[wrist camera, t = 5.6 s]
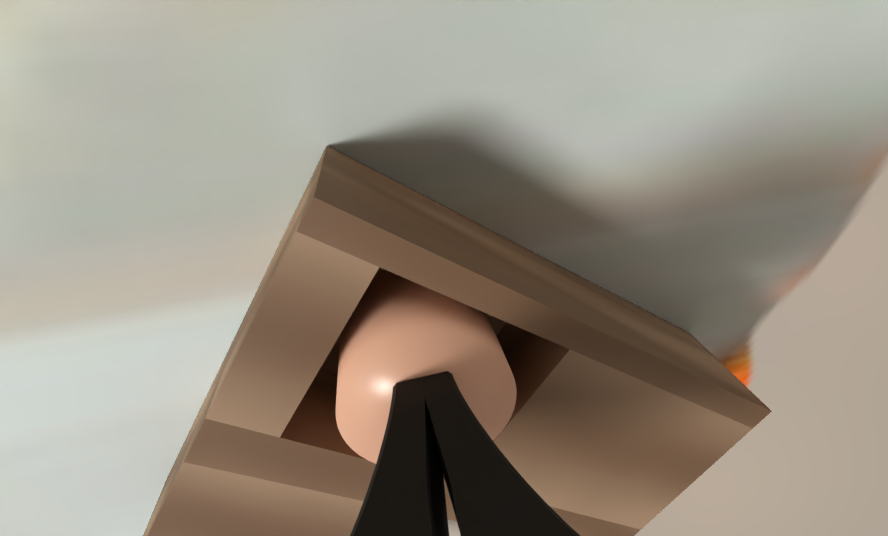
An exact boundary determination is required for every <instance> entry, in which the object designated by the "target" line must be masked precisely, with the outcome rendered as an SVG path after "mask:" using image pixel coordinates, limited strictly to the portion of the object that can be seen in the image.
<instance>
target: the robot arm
mask: <svg viewBox="0 0 888 536" xmlns="http://www.w3.org/2000/svg"><path fill="white" fill-rule="evenodd" d="M443 474H444V476H443ZM444 478H445V482H446V485H447V489H448V492H449V496H450V499H451V503H452V506H453V510H454V513H455V517H456V520H457V524H458V527H459V531H460V535H461V536H580V535H579V534H578V533H577V532H576V531H575V530H574V529H573V528H571V527H570V526H569V525H568V524H567V523H566V522H565V521H564V520H563V519H562V518H561V517H560V516H559V515H558V514H557V513H556V512H555V511H554V510H553V509H552V508H551V507H550V506H549V505H548V504H547V503H546V502H545V501H544V500H543V499H542V498H541V497H540V496H539V495H538V494H537V492H536V491H535V490H534V489H533V488H532V487H531V486H530V485H529V484H528V483H527V482H526V481H525V479H524V478H523V477H522V476H521V475H520V474H519V473H518V471H517V470H516V469H515V468H514V467H513V466H512V464H511V463H510V462H509V461H508V459H507V458H506V457H505V456H504V454H503V453H502V452H501V451H500V450H499V448H498V447H497V446H496V444H495V443H494V442H493V440H492V439H491V438H490V436H489V435H488V434H487V432H486V431H485V429H484V428H483V427H482V425H481V424H480V422H479V421H478V420H477V418H476V417H475V415H474V414H473V412H472V410H471V409H470V407H469V406H468V404H467V402H466V401H465V399H464V397H463V396H462V394H461V392H460V390H459V388H458V386H457V384H456V382H455V380H454V377H453V375H452V373H450V372H448V371H445V372H440V373H436V374H432V375H428V376H423V377H419V378H415V379H410V380H406V381H402V382H397V383H396V384H395V385H394V387H393V392H392V400H391V406H390V412H389V417H388V421H387V426H386V430H385V434H384V438H383V441H382V445H381V449H380V452H379V456H378V460H377V463H376V466H375V469H374V472H373V475H372V478H371V481H370V484H369V487H368V490H367V493H366V496H365V499H364V501H363V504H362V507H361V509H360V512H359V515H358V517H357V520H356V522H355V525H354V527H353V530H352V532H351V534H350V536H449V528H448V517H447V507H446V497H445V486H444Z"/></svg>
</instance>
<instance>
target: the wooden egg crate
mask: <svg viewBox="0 0 888 536" xmlns="http://www.w3.org/2000/svg"><path fill="white" fill-rule="evenodd" d="M383 270H387V271H389V272H392V273H394V274H396V275H399V276H401V277H403V278H406V279H408V280H410V281H413V282H415V283H417V284H419V285H422V286H424V287H426V288H429V289H431V290H433V291H436V292H438V293H440V294H443V295H445V296H447V297H450V298H452V299H454V300H456V301H459V302H461V303H463V304H466V305H468V306H470V307H473V308H475V309H477V310H480V311H482V312H484V313H487V315H488V318H489V320H490V322H491V325H492V327H493V329H494V332H495V334H496V336H497V339H498V341H499V343H500V346H501V348H502V350H503V353H504V355H505V357H506V360H507V362H508V364H509V367H510V369H511V371H512V374H513V376H514V380H515V383H516V390H517V393H516V403H515V408H514V411H513V413H512V416H511V418H510V420H509V421H508V423H507V425H506V426H505V428H504V429H503V430H502V432H501V433H500V434H499V435H498V436H497V437H496V438H495V439H494V440H493V442H494V443H495V444H496V446H497V447H498V448H499V450H500V451H501V452H502V453H503V454H504V456H505V457H506V458H507V459H508V461H509V462H510V463H511V464H512V466H513V467H514V468H515V469H516V470H517V471H518V473H519V474H520V475H521V476H522V477H523V478H524V479H525V481H526V482H527V483H528V484H529V485H530V486H531V487H532V488H533V489H534V490H535V491H536V492H537V494H538V495H539V496H540V497H541V498H542V499H543V500H544V501H545V502H546V503H547V504H548V505H549V506H550V507H551V508H552V509H553V510H554V511H555V512H556V513H557V514H558V515H559V516H560V517H561V518H562V519H563V520H564V521H565V522H566V523H567V524H568V525H569V526H570V527H571V528H573V529H574V530H575V531H576V532H577V533H578V534H579V535H580V536H634V535H635V534H636V533H637V532H638V531H640V530H641V529H642V528H643V527H644V526H645V525H646V524H647V523H649V522H650V521H651V520H652V519H653V518H654V517H655V516H656V515H657V514H658V513H660V511H662V510H663V509H664V508H665V507H666V506H667V505H668V504H670V503H671V502H672V501H673V500H674V499H675V498H676V497H677V496H678V495H679V494H681V493H682V492H683V491H684V490H685V489H686V488H687V487H688V486H689V485H690V484H692V483H693V482H694V481H695V480H696V479H697V478H698V477H699V476H701V475H702V474H703V473H704V472H705V471H706V470H707V469H708V468H709V467H710V466H712V465H713V464H714V463H715V462H716V461H717V460H718V459H719V458H720V457H721V456H723V455H724V454H725V453H726V452H727V451H728V450H729V449H730V448H731V447H733V446H734V445H735V444H736V443H737V442H738V441H739V440H740V439H741V438H743V437H744V436H745V435H746V434H747V433H748V432H749V431H750V430H751V429H753V427H755V426H756V425H757V424H758V423H759V422H760V421H761V420H762V419H764V418H765V417H766V416H767V415H768V414H769V413H770V412H771V410H770V409H769V408H768V407H767V406H766V405H765V404H764V403H762V402H761V401H760V400H759V399H758V398H757V397H756V396H755V395H754V394H753V393H752V392H751V391H750V390H749V389H748V388H747V387H746V386H745V385H744V384H743V383H742V382H741V381H740V380H738V379H737V378H736V377H735V376H734V375H733V374H732V373H731V372H730V371H729V370H728V369H727V368H726V367H725V366H724V365H723V364H722V363H721V362H720V361H719V360H718V359H716V358H715V357H714V356H713V355H712V354H711V353H710V352H709V351H708V350H707V349H706V348H705V347H704V346H703V345H702V344H701V343H700V342H699V341H698V340H697V339H696V338H695V337H693V336H692V335H691V334H690V333H688V332H686V331H684V330H682V329H680V328H678V327H676V326H674V325H673V324H671V323H669V322H667V321H665V320H663V319H661V318H659V317H657V316H655V315H653V314H651V313H649V312H647V311H645V310H644V309H642V308H640V307H638V306H636V305H634V304H632V303H630V302H628V301H626V300H624V299H622V298H620V297H618V296H616V295H615V294H613V293H611V292H609V291H607V290H605V289H603V288H601V287H599V286H597V285H595V284H593V283H591V282H589V281H587V280H586V279H584V278H582V277H580V276H578V275H576V274H574V273H572V272H570V271H568V270H566V269H564V268H562V267H560V266H558V265H557V264H555V263H553V262H551V261H549V260H547V259H545V258H543V257H541V256H539V255H537V254H535V253H533V252H531V251H529V250H528V249H526V248H524V247H522V246H520V245H518V244H516V243H514V242H512V241H510V240H508V239H506V238H504V237H502V236H500V235H499V234H497V233H495V232H493V231H491V230H489V229H487V228H485V227H483V226H481V225H479V224H477V223H475V222H473V221H472V220H470V219H468V218H466V217H464V216H462V215H460V214H458V213H456V212H454V211H452V210H450V209H448V208H446V207H444V206H443V205H441V204H439V203H437V202H435V201H433V200H431V199H429V198H427V197H425V196H423V195H421V194H419V193H417V192H415V191H414V190H412V189H410V188H408V187H406V186H404V185H402V184H400V183H398V182H396V181H394V180H392V179H390V178H388V177H386V176H385V175H383V174H381V173H379V172H377V171H375V170H373V169H371V168H369V167H367V166H365V165H363V164H361V163H359V162H357V161H356V160H354V159H352V158H350V157H348V156H346V155H344V154H342V153H340V152H338V151H336V150H334V149H332V148H330V147H328V146H326V149H325V151H324V153H323V155H322V157H321V159H320V161H319V163H318V165H317V167H316V169H315V171H314V174H313V176H312V178H311V180H310V182H309V184H308V186H307V188H306V190H305V192H304V194H303V196H302V199H301V201H300V203H299V205H298V207H297V209H296V211H295V213H294V215H293V217H292V219H291V221H290V224H289V226H288V228H287V230H286V232H285V234H284V236H283V238H282V240H281V242H280V244H279V246H278V249H277V251H276V253H275V255H274V257H273V259H272V261H271V263H270V265H269V267H268V269H267V271H266V274H265V276H264V278H263V280H262V282H261V284H260V286H259V288H258V290H257V292H256V294H255V296H254V299H253V301H252V303H251V305H250V307H249V309H248V311H247V313H246V315H245V317H244V319H243V321H242V324H241V326H240V328H239V330H238V332H237V334H236V336H235V338H234V340H233V342H232V344H231V346H230V349H229V351H228V353H227V355H226V357H225V359H224V361H223V363H222V365H221V367H220V369H219V371H218V374H217V376H216V378H215V380H214V382H213V384H212V386H211V388H210V390H209V392H208V394H207V396H206V399H205V401H204V403H203V405H202V407H201V409H200V411H199V413H198V415H197V417H196V419H195V421H194V424H193V426H192V428H191V430H190V432H189V434H188V436H187V438H186V440H185V442H184V444H183V446H182V449H181V451H180V453H179V455H178V457H177V459H176V461H175V463H174V465H173V467H172V469H171V471H170V474H169V476H168V478H167V480H166V482H165V485H164V487H163V489H162V492H161V494H160V497H159V499H158V501H157V504H156V506H155V509H154V511H153V513H152V516H151V518H150V521H149V523H148V525H147V528H146V530H145V533H144V535H143V536H350V534H351V532H352V530H353V527H354V525H355V522H356V520H357V517H358V515H359V512H360V509H361V507H362V504H363V501H364V499H365V496H366V493H367V490H368V487H369V484H370V481H371V478H372V475H373V472H374V469H375V466H376V464H375V463H373V462H370V461H368V460H366V459H365V458H363V457H361V456H360V455H358V454H357V453H356V452H355V451H353V450H352V449H351V448H350V447H349V446H348V444H347V443H346V442H345V441H344V439H343V437H342V436H341V434H340V432H339V429H338V426H337V422H336V394H337V378H338V361H339V345H340V334H341V332H342V330H343V329H344V327H345V325H346V323H347V322H348V320H349V318H350V317H351V315H352V313H353V311H354V310H355V308H356V306H357V305H358V303H359V301H360V299H361V298H362V296H363V294H364V293H365V291H366V289H367V288H368V286H369V284H370V282H371V281H372V279H373V277H374V276H375V274H377V273H379V272H381V271H383ZM443 476H444V474H443ZM444 486H445V497H446V507H447V517H448V520H452V521H457V520H456V517H455V513H454V510H453V506H452V503H451V499H450V496H449V492H448V489H447V485H446V482H445V478H444Z"/></svg>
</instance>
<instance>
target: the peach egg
mask: <svg viewBox="0 0 888 536" xmlns="http://www.w3.org/2000/svg"><path fill="white" fill-rule="evenodd" d="M445 371H448V372H450V373H452V375H453V377H454V380H455V382H456V384H457V386H458V388H459V390H460V392H461V394H462V396H463V397H464V399H465V401H466V402H467V404H468V406H469V407H470V409H471V410H472V412H473V414H474V415H475V417H476V418H477V420H478V421H479V422H480V424H481V425H482V427H483V428H484V429H485V431H486V432H487V434H488V435H489V436H490V438H491V439H492V440H494V439H495V438H496V437H497V436H498V435H499V434H500V433H501V432H502V430H503V429H504V428H505V426H506V425H507V423H508V421H509V420H510V418H511V416H512V413H513V411H514V408H515V403H516V393H517V390H516V383H515V380H514V376H513V374H512V371H511V369H510V367H509V364H508V362H507V360H506V357H505V355H504V353H503V350H502V348H501V346H500V343H499V341H498V339H497V336H496V334H495V332H494V329H493V327H492V325H491V322H490V320H489V318H488V315H487V313H484V312H482V311H480V310H477V309H475V308H473V307H470V306H468V305H466V304H463V303H461V302H459V301H456V300H454V299H452V298H450V297H447V296H445V295H443V294H440V293H438V292H436V291H433V290H431V289H429V288H426V287H424V286H422V285H419V284H417V283H415V282H413V281H410V280H408V279H406V278H403V277H401V276H399V275H396V274H394V273H392V272H389V271H387V270H383V271H381V272H379V273H377V274H375V276H374V277H373V279H372V281H371V282H370V284H369V286H368V288H367V289H366V291H365V293H364V294H363V296H362V298H361V299H360V301H359V303H358V305H357V306H356V308H355V310H354V311H353V313H352V315H351V317H350V318H349V320H348V322H347V323H346V325H345V327H344V329H343V330H342V332H341V334H340V345H339V361H338V378H337V394H336V422H337V426H338V429H339V432H340V434H341V436H342V437H343V439H344V441H345V442H346V443H347V444H348V446H349V447H350V448H351V449H352V450H353V451H355V452H356V453H357V454H358V455H360V456H361V457H363V458H365V459H366V460H368V461H370V462H373V463H375V464H376V463H377V460H378V456H379V452H380V449H381V445H382V441H383V438H384V434H385V430H386V426H387V421H388V417H389V412H390V406H391V400H392V392H393V387H394V385H395V384H396V383H397V382H402V381H406V380H410V379H415V378H419V377H423V376H428V375H432V374H436V373H440V372H445Z"/></svg>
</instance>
